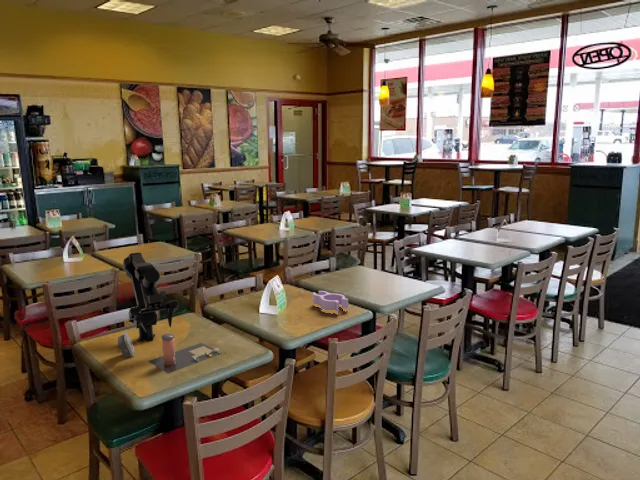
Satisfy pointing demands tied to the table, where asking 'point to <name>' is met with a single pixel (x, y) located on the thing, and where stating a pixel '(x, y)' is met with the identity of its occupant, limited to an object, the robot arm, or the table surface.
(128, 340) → the electrical switch
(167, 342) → the post
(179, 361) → the breaker panel
